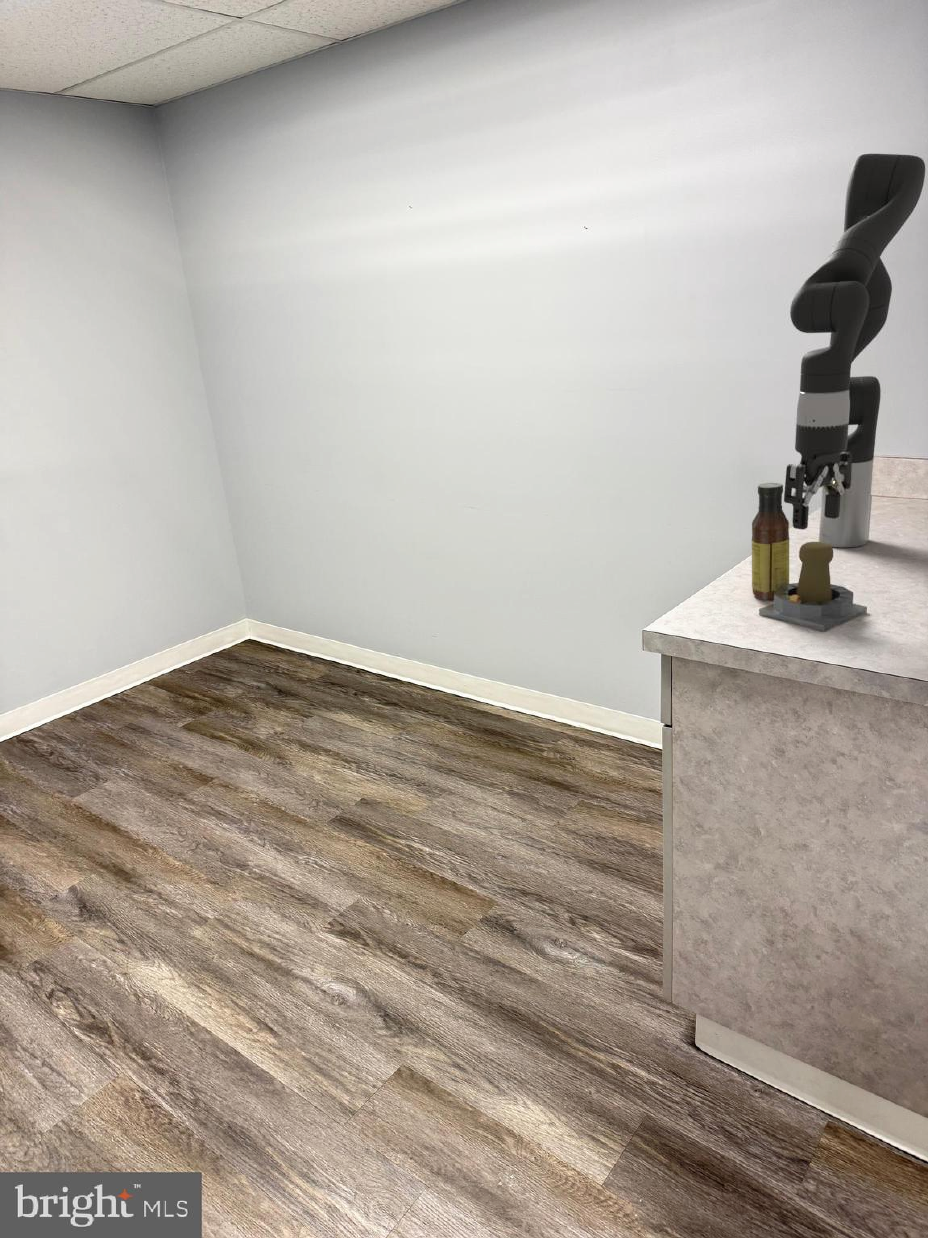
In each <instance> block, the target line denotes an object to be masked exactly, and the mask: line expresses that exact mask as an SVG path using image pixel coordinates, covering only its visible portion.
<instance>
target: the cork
mask: <svg viewBox="0 0 928 1238" xmlns="http://www.w3.org/2000/svg"><path fill="white" fill-rule="evenodd" d="M833 557H834V550H833V546H831V545H829V544H828V543H824V542H819V541H809V542H805V543H803V544H802V545H801V546H800V548H799V551H798V558H799V560H800V561H801V568H800V573H799V578H798V582H797V583H798V587H797V592H796V595H798V596H801V600H803V601H816V602H821V601H830V600H832V596H831V572H830V563H831V562H832V560H833Z"/></svg>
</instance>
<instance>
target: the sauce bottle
mask: <svg viewBox="0 0 928 1238" xmlns="http://www.w3.org/2000/svg"><path fill="white" fill-rule="evenodd" d="M757 493H758V511H757V514H756V515H755V517H754V518H753V519H752V522H751V534H752V536H751V587H752V594H753V596H754V597H755V598H757V599H759V600H767V601H774V593H775V590H776V588H779V587H781V586H784V585H786V584H790V527H789V526H790V523H789V520H788V518H787V517H786V514H785V512H784V510H783V505H782V503H783V501H782V500H783V494H784V484H782V483H780V482H764V483H760V484H759V485H757Z"/></svg>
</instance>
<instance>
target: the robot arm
mask: <svg viewBox="0 0 928 1238" xmlns="http://www.w3.org/2000/svg"><path fill="white" fill-rule="evenodd" d="M852 164H853V165H852V167H851V169H850V172H849V176H848V182H847V186H846V193H845V207H844V208H845V209H844V221H843V222H844V224H843V225H844V226H843V233H842V234H841V235H840V236H839V238H838V239H837V240H836V242H835V243H834V245H833V246H832V248H831V250H830V252H829V254H828V256H827V258H826V260H825V261H824V263H823V264H822V265H821V266H820V267H819V268H817V269H816V271H814V272H813V273H812V274H811V275H810V276H809V277H808V278H807V279H806V280H804V281H803V282H802V284H801V285H800V286H799V288H798V289H797V290H796V292H795V294H794V296H793V299H792V301H791V304H790V311H789V314H790V320H791V323H792V325H793V326H794V328H795V329H796V330H798V331H799V332H801V333H805V334H822V333H823V334H824V333H825V334H826V333H827V334H828V333H830V339H829V340H830V341H829V346H827V347H823V348H818V349H814V350H810V351H807V352H806V353H804V355H803V356H802V358H801V363H800V384H799V394H798V401H797V408H796V420H795V421H796V423H795V443H794V448H795V449H794V450H795V451H796V452H797V453H799V454H800V455H801V457H800V458H801V459H800V461H799V464H791V463H789V464H787V466H786V470H785V484H784V492H783V494H784V496H783V502H784V503H786V504H790V505H792V527H793V529H796V530H806V529H807V528H808V525H809V510H810V506H809V504H810V503H811V500H812V498H813V496H814V495H816V494H817V493H818V491H819V489H820V488H821V504H820V518H819V519H820V520H819V534H818V535H819V537H818V542H824V543H828V544H829V545H831V547H832V548H833V547H834V548H856V547H862V546H865V545H866V544H867V543H868V540H869V537H870V529H871V528H870V526H871V515H872V514H871V513H872V501H873V500H872V499H873V495H872V486H873V485H872V482H873V468H874V459H875V448H876V446H875V445H876V435H877V425H878V421H879V412H880V406H881V397H882V396H881V391H882V390H881V383H880V381H879V379H878V378H877V377H876V376H872V375H866V376H851V371H852V370H851V369H852V363H853V362H854V361H855V360H856V358H857V357H858V356H860V354H861V353H862V352H863V351H864V350H865V349H866V348H867V347H868V346H869V345H870V344H871V343H872V342H873V340H874V339H875V338H876V337H877V336H878V335H879V333H880V332H881V330H882V329H883V328H884V325H886V321H887V319H888V315H889V310H890V309H889V308H890V303H891V297H892V291H893V286H892V285H893V284H892V279H891V278H890V274H889V273H888V270H887V268H886V266H885V264H884V262H883V260H882V259H881V256H882V254H883V253H884V250H885V249H886V248H887V246H888V245H889V244H890V242H891V241H892V240H893V239H894V238H895V237H896V235H897V234H898V233H899V231H901V229H902V227H903V226H904V224H905V223H906V222H907V220H908V219H909V218H910V216H911V215H912V214H913V212H914V210H915V208H916V207H917V205H918V202H919V200H920V197H921V195H922V191H923V187H924V183H925V176H926V164H925V161H924V159H923V158H921V157H920V156H917V155H911V154H893V153H890V154H889V153H863V154H861V155H859V156H857V158H856V159H855V161H854V162H853V163H852ZM849 426H857V427H856V429H855V430H854V431H853V432H852V433H850V434H849ZM793 489H795V490H794V492H793ZM792 493H793V494H792ZM803 495H804V496H803Z"/></svg>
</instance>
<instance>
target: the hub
mask: <svg viewBox="0 0 928 1238" xmlns="http://www.w3.org/2000/svg"><path fill="white" fill-rule="evenodd" d="M797 587H798V582H796V583H795V582H794V583H789V584H786V585H784V586H781V587H779V588H776V590H775V593H774V600H773V602H772V603H771V604H768V605H766V606H763V607H761V608H759V610H758V611H759V612H758V615H759V616H763V617H767V618H771V619H774V620H777V621H782V622H784V623H785V622H786V623H789V624H793V625H796V626H801V627H805V628H809V629H811V630H816V631H820V632H823V633H825V632H826V631H829V630H831V629H833V628H836V627H838V626H840V625H843V624H844V623H847V622H849V621H852V620H853V619H855V618H857V617H860V616H863V615H864V614H868V613H867V612H868V606H865V605H862V604H861V605H860V604H857V603H854V592H853V591H851V590H849V589H848V588H846V587H845V586H840V585H836V584H831V596H832V600H830V601H821V602H816V601H803V600H801V596H798V595H796V592H797Z"/></svg>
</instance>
